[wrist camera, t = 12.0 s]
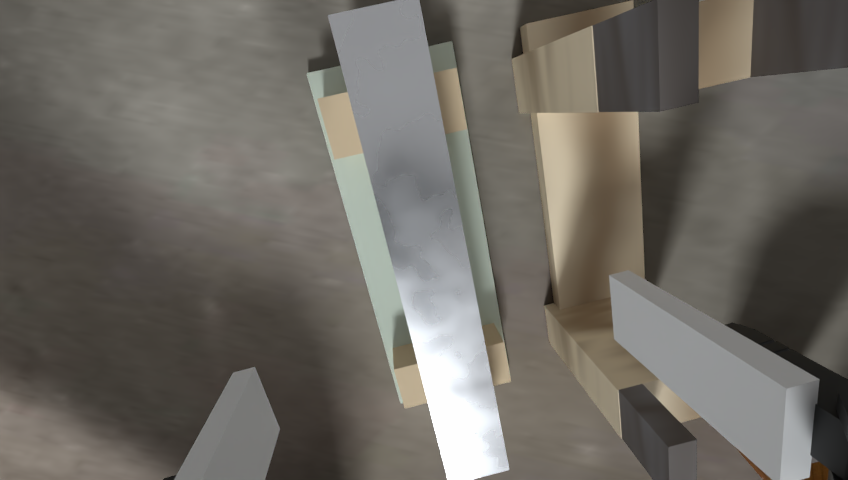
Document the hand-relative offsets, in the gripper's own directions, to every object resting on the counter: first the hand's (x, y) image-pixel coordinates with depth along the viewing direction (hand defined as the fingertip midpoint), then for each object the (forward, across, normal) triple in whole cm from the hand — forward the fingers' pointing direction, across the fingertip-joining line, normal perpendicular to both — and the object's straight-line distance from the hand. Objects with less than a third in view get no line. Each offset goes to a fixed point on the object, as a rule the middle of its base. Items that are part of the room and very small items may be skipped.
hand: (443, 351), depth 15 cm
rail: (+9, +1, 0) cm, 9 cm away
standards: (+11, +12, 0) cm, 16 cm away
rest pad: (+12, +1, 0) cm, 12 cm away
